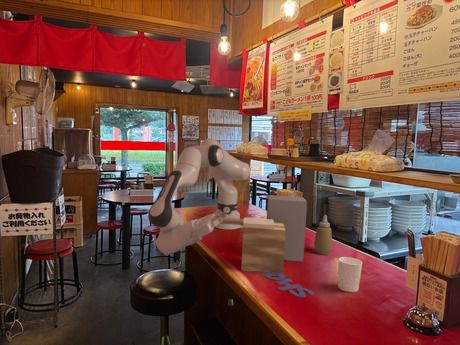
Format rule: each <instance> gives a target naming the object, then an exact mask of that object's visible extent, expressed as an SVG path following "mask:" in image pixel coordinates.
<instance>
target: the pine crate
mask: <svg viewBox="0 0 460 345" xmlns="http://www.w3.org/2000/svg"><path fill="white" fill-rule="evenodd" d="M274 224H275V229H267V228H252V227H243V234H242V249H241V250H242V251H241V265H240V266H241V267H240V268H241V269H240V270H241V272H251V271H257V272H263V273H264V274H265V273H266V272H272V273H282V274H284V265H285V264H284V262H285V260H284V250H285V234H286V230H285V227H284V225H283V223H274Z"/></svg>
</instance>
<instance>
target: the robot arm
mask: <svg viewBox="0 0 460 345" xmlns="http://www.w3.org/2000/svg"><path fill="white" fill-rule="evenodd" d="M203 168H208V172H209V175H210V176H211V177H212V178H213V179H214V181H215V183H216V185H217V188H218V189H217V190H218V199H217V200H218V202H217V205H216V206H217V207H216V208H217V209H216V211H214V213H210V214H208V215H205V216H202V217H200V218H195V219H191V220H190V221H189V220H188V221H187V222H185V219H184V217H183V215H181V214H180V213H179V212H178V211H177V210H175V209H174V207H173V204H172V202H173V199H174V198H175V194H176V192H177V190H178V189H179V188H190V187H192V186H193V185H195V184H196V183H197V181H198V178H199V174H200V170H201V169H203ZM250 175H251V167H250V165H249V164H248V163H246V162H244V161H242V160H239V159H238V158H236V157H235V156H232V155H231V154H230V153H229V152H228V151H227V150H226V149H225V148H224V146H223V145H222V144H220V143H219V141H217V140H216V139H215V138H212V137H210V138H205V139H203V140H202V142H201V143H200V145H194V146H187V147H184V148H183V149H182V150H181V152H180V154H179V157H178V159H177V162H176V165H175V167H174V169H173V170H172V171H170V173H169V174H168V176H167V177H166V179H165V180H164V183H163V185H162V187H161V188H160V191H159V193H158V195H157V197H156V199H155V201H154V202H153V203H152V205H151V206H150V207H149V210H148V216H147V218H148V220H149V222H150V224H151V225H154V226H155V227H157V228H159V234H158V237H157V238H156V239H155V240H154V243H155V246H156V248H157V249H158V251H159V252H160V253H161V254H163V255H165V256H169V255H172V254H175V253H177V252H179V251H181V250H183V249H185V247H188V246H192V245H194V244H196V243H199V242H200V241H202V240H203V237H204V236H206V235H208V234H210V233H212V232H213V231H214V229H215V228H217V229H221V230H237V229H244V227H243V225H234V224H220V223H222V222H223V218H234V219H241V218H240V212H239V211H238V208H239V205H238V189H237V188H236V187H235V186H234V185H233V184H232V182H231V181H245V180H248V179H249V177H250ZM212 217H218V219H217V220H215V221H212V222H211V218H212Z"/></svg>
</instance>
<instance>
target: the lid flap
mask: <svg viewBox="0 0 460 345" xmlns="http://www.w3.org/2000/svg"><path fill="white" fill-rule="evenodd" d="M217 219H218V217H212V218H211V222H212V221H215V220H217ZM220 224H234V225H242V227H243V228H244V227H252V228H267V229H275V224H274V221H273V219H267V218H258V217H257V218H255V217H243V218H240V219H234V218H223V222H222V223H220Z"/></svg>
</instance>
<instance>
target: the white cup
mask: <svg viewBox="0 0 460 345" xmlns="http://www.w3.org/2000/svg"><path fill="white" fill-rule="evenodd" d="M337 264H338V265H337V266H338V267H337V287H338V289H340V290H341V291H344V292H348V293H356V292H358V291H359V286H360V281H361V276H362V275H361V274H362V267H363V261H362V260H360V259H358V258H354V257H351V256H350V257H348V256H342V257H339V258H338V262H337Z"/></svg>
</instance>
